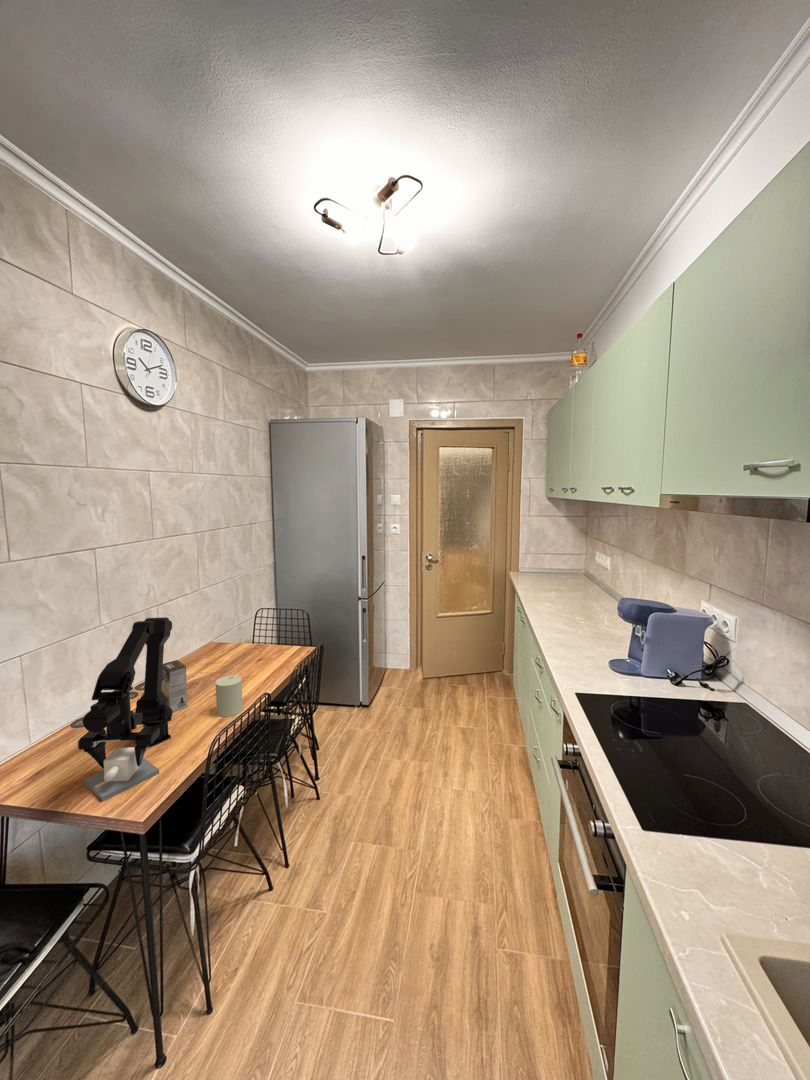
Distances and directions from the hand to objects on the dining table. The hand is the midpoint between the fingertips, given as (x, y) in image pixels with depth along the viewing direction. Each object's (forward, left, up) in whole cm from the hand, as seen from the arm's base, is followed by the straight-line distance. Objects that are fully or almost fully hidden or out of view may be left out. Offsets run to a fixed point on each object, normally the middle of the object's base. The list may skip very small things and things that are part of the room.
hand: (121, 766), depth 120 cm
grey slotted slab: (0, 0, -4) cm, 4 cm away
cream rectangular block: (+1, +1, -2) cm, 3 cm away
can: (-40, -11, -4) cm, 42 cm away
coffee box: (-30, -31, -4) cm, 43 cm away
